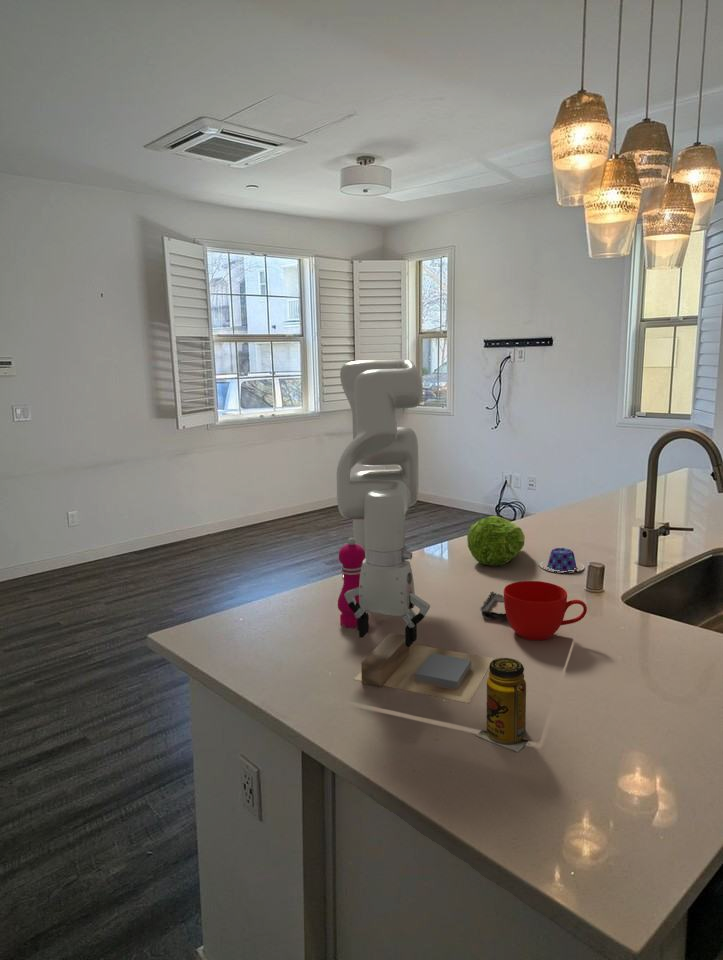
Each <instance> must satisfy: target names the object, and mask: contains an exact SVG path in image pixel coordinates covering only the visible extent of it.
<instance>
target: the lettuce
mask: <svg viewBox="0 0 723 960" xmlns="http://www.w3.org/2000/svg"><path fill="white" fill-rule="evenodd" d="M466 537H467V538H466V539H467V547H468V550H469V551H470V553H471V555H472V557H473V558H474V559H475V560H476V561H477V563H478V564H479V565H486V566H491V567H492V566H493V567H494V566H498V567H499V566H501V565H505V564H507V563H509V562H510V561H511V560H512V559H514V558H515V557H516V556H517V555H519V553H520V552H521V550H522V549H523V547H524V546H525V538H526V535H525V534H524V531H523V530H522V528H521V527H520V526H518V525H516V524H515V523H513V522H512V521H509V519H508V520H507V519H506V518H503V517H500V516H497V515H490V516H486V517H485V518H481V519H479V520H478V521H475V523H473V524H472V525H470V528H469V531H468V533H467V536H466Z"/></svg>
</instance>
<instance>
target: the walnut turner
mask: <svg viewBox="0 0 723 960" xmlns="http://www.w3.org/2000/svg"><path fill="white" fill-rule="evenodd" d="M408 656H409V647H407V646H406V642H405V634H399V633H394V632H390V633H389V634H387V636H386V637H385V638H384V639H383V640H382V641H381V642H380V643H379V644H378V645H377V646H376V647H375V648H374V649H373V650H372V651H371V652H370V653H369V655H367V657H365V658H364V659H363V660H362V661H361V663H360V665H361V671H360V672H361V673H362V681H361V683H362V684H364V685H369V686H374V687H375V686H376V687H381V688H382V687H383V685H384V684H385V683H386V682H387V680H388V679H389V678H390V677H391V676H392V675H393V673H394V672H395V671H396V670H397V669H398V667H399V666H400V665H401V664H402V663H403V662H404V660H405V659H406V658H407V657H408Z"/></svg>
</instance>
